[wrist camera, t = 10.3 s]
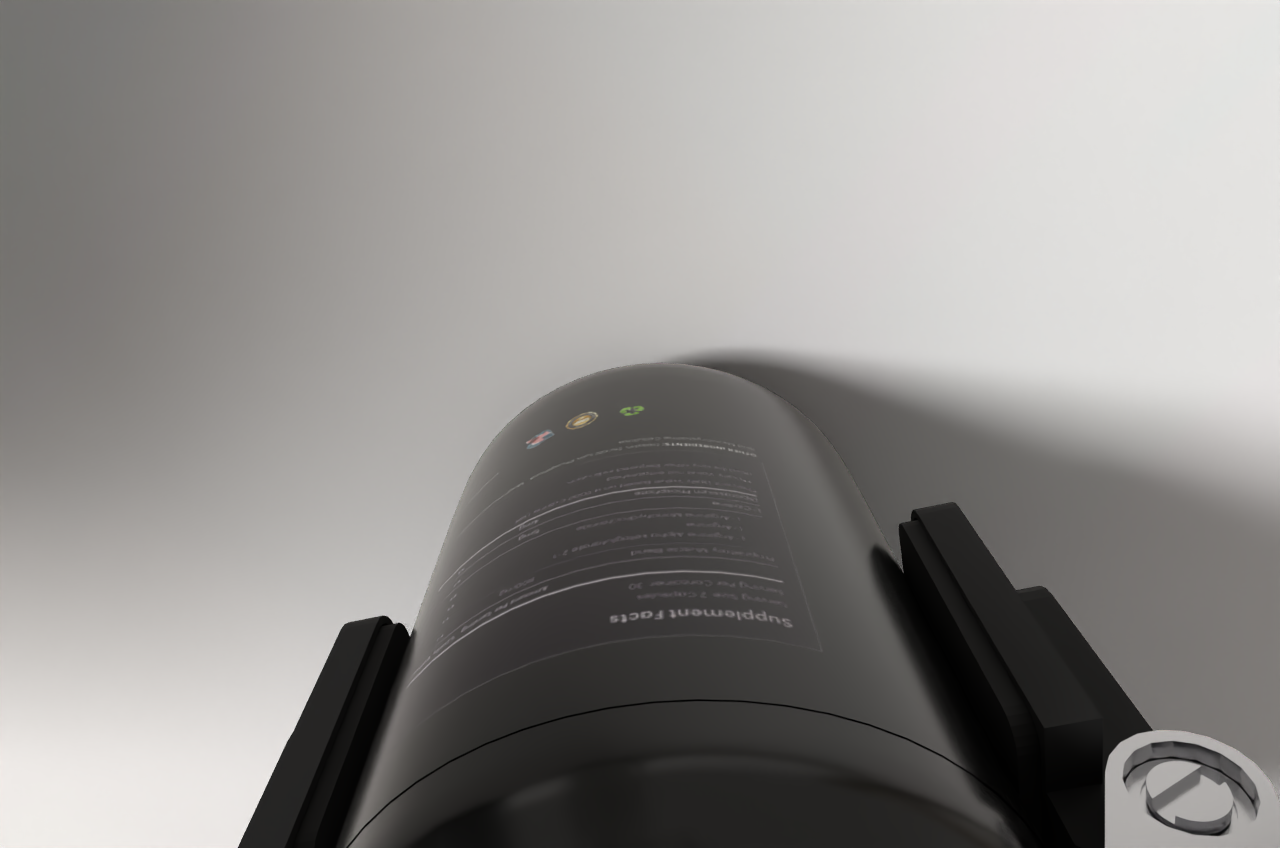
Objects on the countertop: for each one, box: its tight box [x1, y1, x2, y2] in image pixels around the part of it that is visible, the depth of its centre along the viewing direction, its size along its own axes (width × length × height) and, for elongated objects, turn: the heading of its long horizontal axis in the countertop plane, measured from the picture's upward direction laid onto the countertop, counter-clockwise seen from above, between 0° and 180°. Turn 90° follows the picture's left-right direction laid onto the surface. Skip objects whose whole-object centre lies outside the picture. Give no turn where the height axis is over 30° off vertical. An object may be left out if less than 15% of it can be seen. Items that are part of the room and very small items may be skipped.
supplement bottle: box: [335, 363, 1046, 848], centre depth 9 cm, size 7×7×12 cm
